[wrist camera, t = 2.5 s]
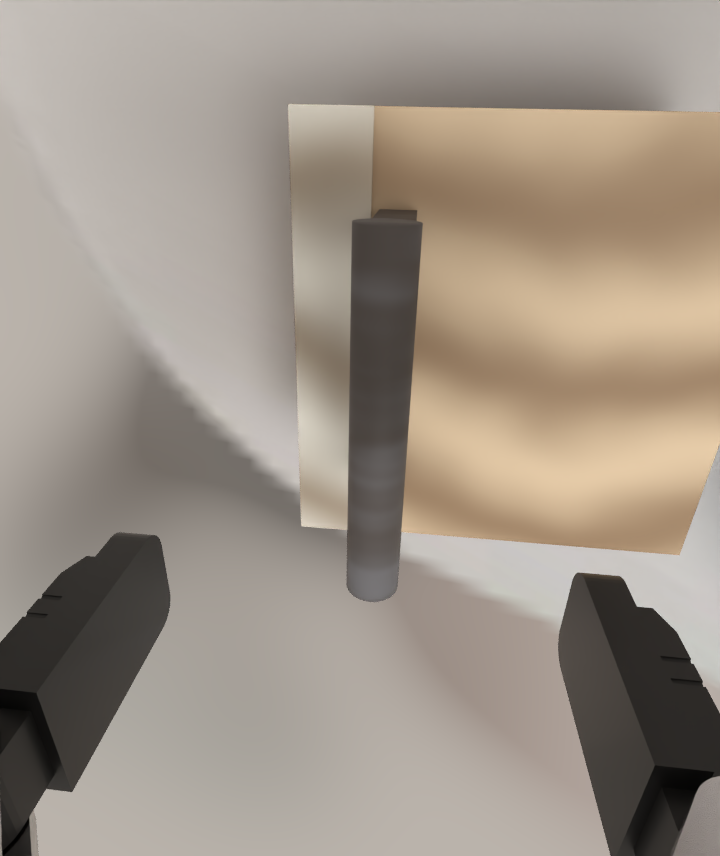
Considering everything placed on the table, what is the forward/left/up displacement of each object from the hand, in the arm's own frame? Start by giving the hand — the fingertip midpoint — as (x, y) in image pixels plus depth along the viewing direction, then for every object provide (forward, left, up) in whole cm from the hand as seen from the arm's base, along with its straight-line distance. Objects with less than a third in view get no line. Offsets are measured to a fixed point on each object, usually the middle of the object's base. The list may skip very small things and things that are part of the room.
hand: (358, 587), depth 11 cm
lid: (0, +5, -15) cm, 16 cm away
